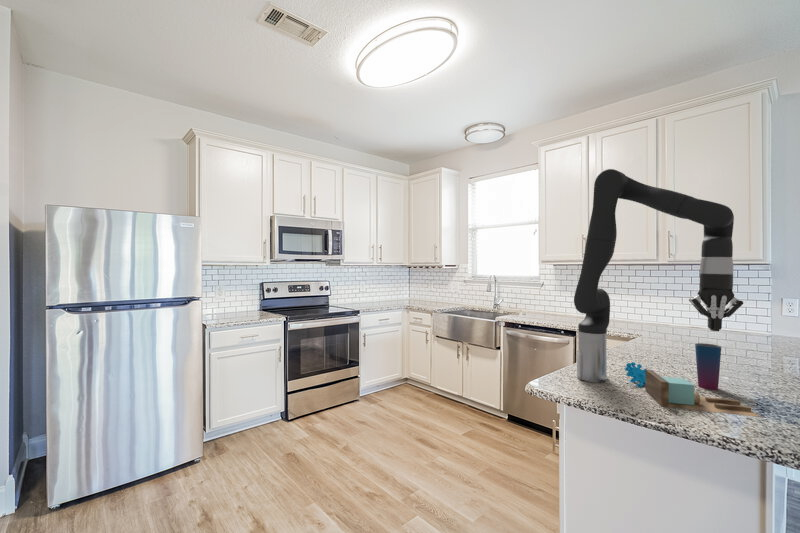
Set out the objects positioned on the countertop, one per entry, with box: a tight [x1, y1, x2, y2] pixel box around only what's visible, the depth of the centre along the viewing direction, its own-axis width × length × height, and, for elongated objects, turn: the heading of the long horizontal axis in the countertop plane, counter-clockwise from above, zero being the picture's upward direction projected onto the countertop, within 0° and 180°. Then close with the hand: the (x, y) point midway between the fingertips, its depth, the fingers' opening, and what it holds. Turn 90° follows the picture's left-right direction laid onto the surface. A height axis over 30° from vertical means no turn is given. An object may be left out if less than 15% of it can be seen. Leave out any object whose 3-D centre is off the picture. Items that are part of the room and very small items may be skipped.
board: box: [644, 369, 762, 418], centre depth 108 cm, size 23×14×8 cm, turn 72°
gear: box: [624, 361, 648, 388], centre depth 128 cm, size 11×6×10 cm
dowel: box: [694, 392, 701, 404], centre depth 109 cm, size 8×3×3 cm, turn 71°
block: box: [661, 376, 695, 405], centre depth 110 cm, size 7×7×6 cm
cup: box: [694, 342, 722, 391], centre depth 123 cm, size 7×7×15 cm
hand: (714, 330), depth 109 cm, fingers closed
